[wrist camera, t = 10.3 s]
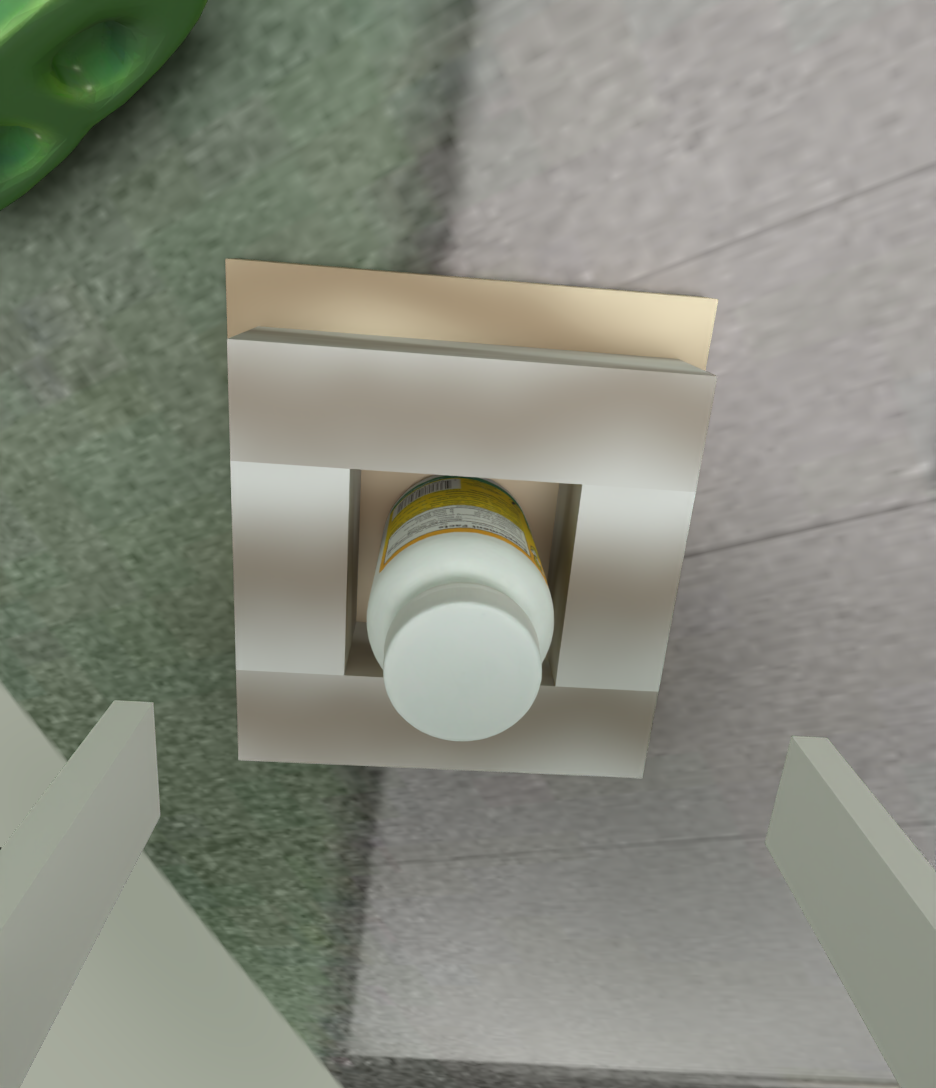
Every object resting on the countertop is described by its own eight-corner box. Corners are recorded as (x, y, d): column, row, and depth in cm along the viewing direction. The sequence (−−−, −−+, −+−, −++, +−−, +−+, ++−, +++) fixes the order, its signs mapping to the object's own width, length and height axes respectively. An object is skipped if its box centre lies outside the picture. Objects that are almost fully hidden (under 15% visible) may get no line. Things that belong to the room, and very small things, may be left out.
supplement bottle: (415, 446, 27) (402, 540, 18) (555, 502, 28) (608, 619, 19) (361, 578, 29) (325, 726, 20) (494, 627, 30) (517, 790, 21)
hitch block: (626, 737, 33) (660, 825, 28) (246, 719, 32) (210, 807, 27) (703, 296, 27) (765, 307, 22) (237, 258, 26) (187, 259, 21)
